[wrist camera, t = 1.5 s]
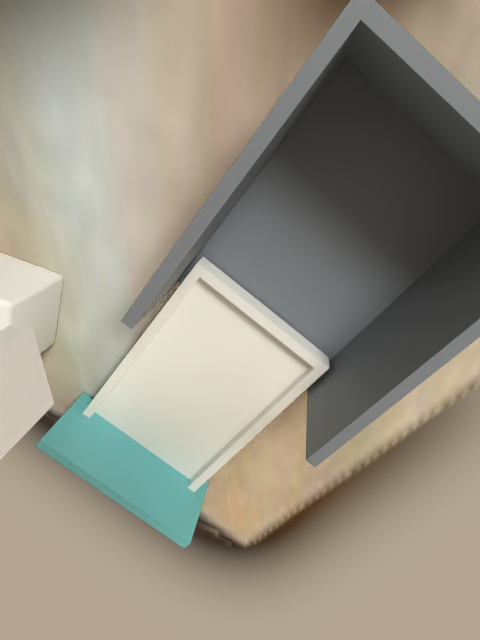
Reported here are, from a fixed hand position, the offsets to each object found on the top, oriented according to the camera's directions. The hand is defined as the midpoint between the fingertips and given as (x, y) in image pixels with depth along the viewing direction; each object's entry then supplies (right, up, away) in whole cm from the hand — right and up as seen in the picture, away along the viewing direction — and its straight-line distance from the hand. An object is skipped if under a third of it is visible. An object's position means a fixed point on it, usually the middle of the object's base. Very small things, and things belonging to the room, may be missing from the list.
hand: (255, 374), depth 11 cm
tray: (-4, -3, +26) cm, 26 cm away
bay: (+6, +7, +20) cm, 22 cm away
